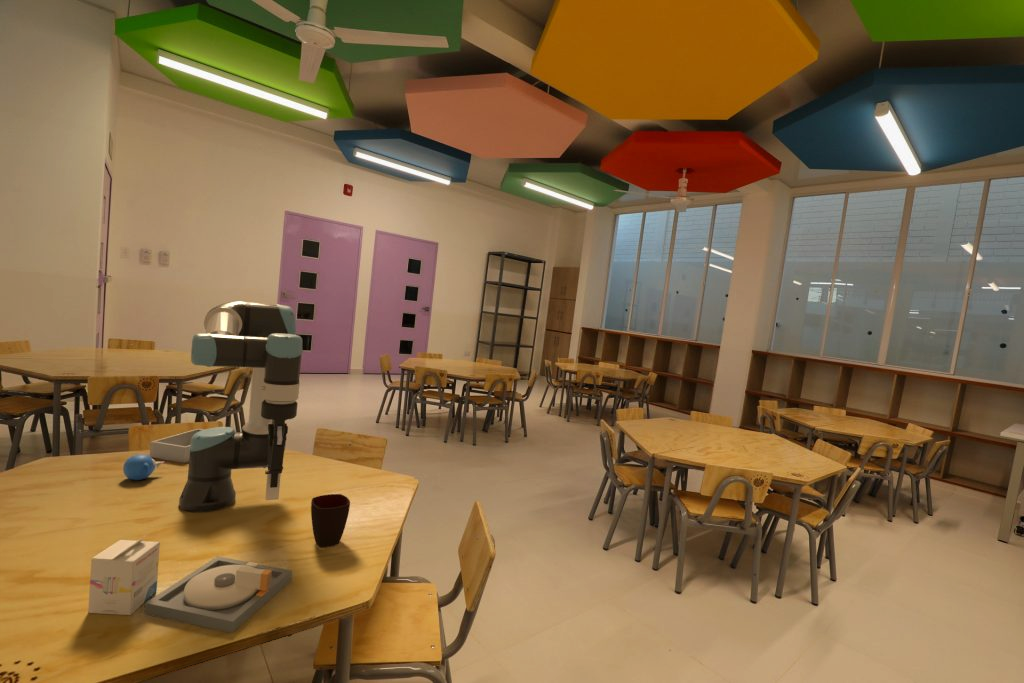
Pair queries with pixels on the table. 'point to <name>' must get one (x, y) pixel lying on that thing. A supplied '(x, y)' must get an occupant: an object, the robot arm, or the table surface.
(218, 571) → the dial
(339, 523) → the cup
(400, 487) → the table surface
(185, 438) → the tray
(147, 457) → the blue mole toy
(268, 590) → the dial plate
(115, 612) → the ink box
